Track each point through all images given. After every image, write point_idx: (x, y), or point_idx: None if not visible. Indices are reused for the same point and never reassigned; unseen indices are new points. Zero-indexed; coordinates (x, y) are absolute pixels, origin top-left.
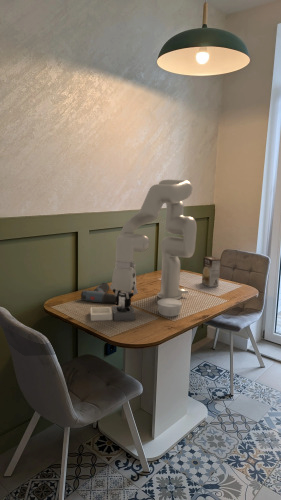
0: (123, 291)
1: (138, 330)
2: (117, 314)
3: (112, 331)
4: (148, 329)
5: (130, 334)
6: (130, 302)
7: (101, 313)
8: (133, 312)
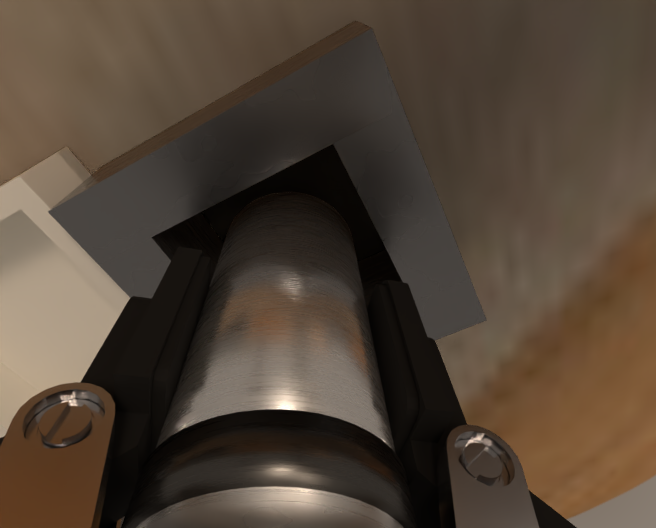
0: (203, 518)
1: (517, 419)
2: None
3: None
4: (600, 383)
5: None
6: (440, 370)
7: (21, 271)
8: (466, 320)
